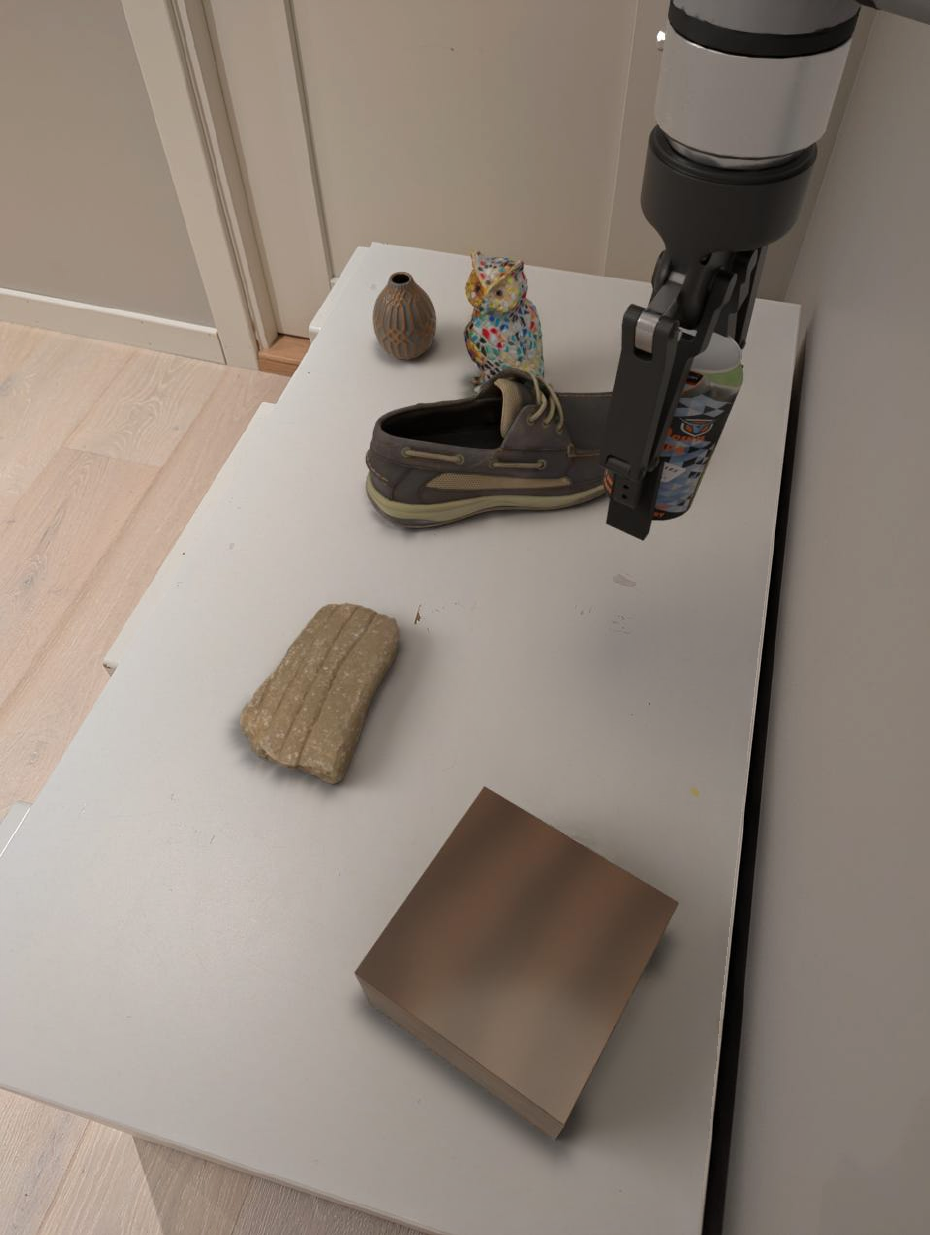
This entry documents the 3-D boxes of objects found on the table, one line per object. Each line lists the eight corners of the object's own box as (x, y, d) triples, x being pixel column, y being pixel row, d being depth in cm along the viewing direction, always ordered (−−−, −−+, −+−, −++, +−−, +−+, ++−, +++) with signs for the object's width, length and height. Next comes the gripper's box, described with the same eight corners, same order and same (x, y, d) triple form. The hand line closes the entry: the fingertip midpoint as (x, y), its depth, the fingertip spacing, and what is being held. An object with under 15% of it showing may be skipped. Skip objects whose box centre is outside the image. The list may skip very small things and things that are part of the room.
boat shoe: (678, 480, 84) (700, 392, 75) (390, 561, 79) (378, 477, 70) (628, 410, 90) (643, 321, 81) (358, 481, 85) (343, 394, 76)
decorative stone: (412, 633, 74) (409, 608, 71) (341, 794, 65) (334, 774, 62) (307, 605, 76) (300, 580, 73) (224, 758, 67) (213, 737, 64)
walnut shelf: (658, 939, 59) (679, 902, 52) (554, 1140, 52) (564, 1125, 45) (484, 832, 63) (484, 785, 57) (369, 1003, 57) (353, 972, 50)
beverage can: (581, 497, 58) (600, 346, 48) (656, 447, 61) (688, 294, 51) (651, 550, 55) (685, 401, 45) (726, 495, 58) (774, 343, 48)
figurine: (469, 420, 90) (466, 291, 77) (461, 365, 95) (457, 236, 83) (551, 413, 90) (561, 284, 78) (539, 359, 95) (546, 230, 83)
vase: (386, 326, 99) (378, 255, 92) (444, 334, 98) (441, 263, 91) (368, 363, 95) (358, 292, 88) (428, 372, 94) (423, 301, 87)
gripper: (748, 33, 45) (672, 388, 63) (546, 207, 35) (527, 564, 54) (892, 66, 42) (769, 426, 61) (716, 262, 33) (634, 618, 51)
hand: (655, 490), depth 57 cm, fingers closed on beverage can, 7 cm apart
